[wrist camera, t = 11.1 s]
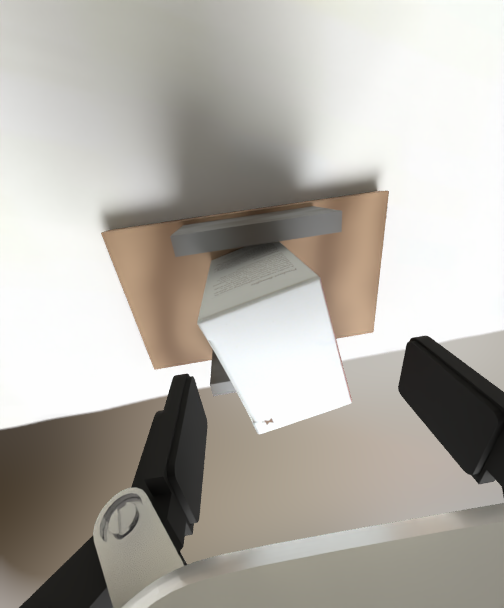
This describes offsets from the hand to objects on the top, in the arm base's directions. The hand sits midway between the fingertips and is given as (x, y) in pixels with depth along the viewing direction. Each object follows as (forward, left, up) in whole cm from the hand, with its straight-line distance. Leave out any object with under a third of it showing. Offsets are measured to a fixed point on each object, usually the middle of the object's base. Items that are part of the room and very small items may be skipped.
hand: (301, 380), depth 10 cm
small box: (0, 0, -12) cm, 12 cm away
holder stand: (0, 0, -13) cm, 13 cm away
